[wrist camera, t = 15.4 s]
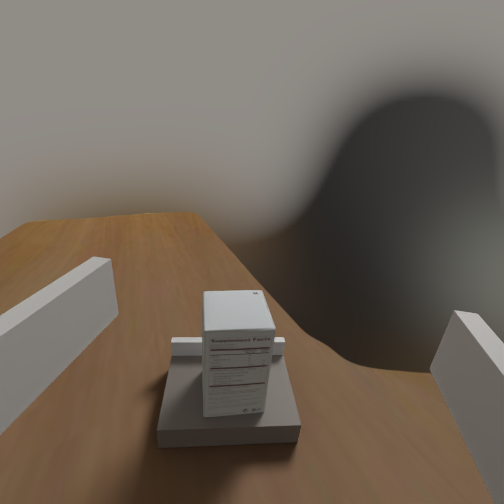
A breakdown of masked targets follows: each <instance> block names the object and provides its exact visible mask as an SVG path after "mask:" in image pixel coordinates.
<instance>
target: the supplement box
mask: <svg viewBox="0 0 504 504" xmlns="http://www.w3.org/2000/svg"><path fill="white" fill-rule="evenodd" d="M275 330H276V328H275V325H274V322H273V320H272V317H271V314H270V311H269V308H268V305H267V303H266V300H265V297H264V294H263V291H260V290H241V291H206V292H203V306H202V383H203V417H218V416H229V415H240V414H251V413H260V412H264V411H265V403H266V395H267V388H268V381H269V374H270V367H271V360H272V353H273V346H274V339H275Z"/></svg>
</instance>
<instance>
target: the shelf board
mask: <svg viewBox="0 0 504 504" xmlns="http://www.w3.org/2000/svg"><path fill="white" fill-rule="evenodd" d="M284 346H285V340H284V337H275V339H274V346H273V353H272V360H271V367H270V374H269V381H268V388H267V395H266V403H265V411H264V412H260V413H251V414H240V415H229V416H218V417H203V383H202V337H199V338H172V341H171V350H172V357H171V362H170V367H169V372H168V377H167V381H166V386H165V391H164V396H163V401H162V406H161V411H160V416H159V421H158V426H157V443H158V448H173V447H196V446H220V445H243V444H266V443H290V442H298V437H299V433H300V428H301V423H300V419H299V415H298V411H297V407H296V403H295V399H294V395H293V391H292V388H291V384H290V380H289V376H288V372H287V368H286V364H285V360H284V356H283V353H284Z"/></svg>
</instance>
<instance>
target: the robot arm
mask: <svg viewBox="0 0 504 504" xmlns="http://www.w3.org/2000/svg"><path fill="white" fill-rule="evenodd" d="M117 316H118V308H117V300H116V293H115V286H114V279H113V271H112V264H111V259H107V258H100V257H92V258H91V259H89V260H87V261H86V262H84V263H83V264H81V265H80V266H78V267H76V268H75V269H73V270H72V271H70V272H68V273H67V274H65V275H64V276H62V277H61V278H59V279H57V280H56V281H54V282H53V283H51V284H50V285H48V286H46V287H45V288H43V289H42V290H40V291H38V292H37V293H35V294H34V295H32V296H31V297H29V298H27V299H26V300H24V301H23V302H21V303H19V304H18V305H16V306H15V307H13V308H12V309H10V310H8V311H7V312H5V313H4V314H2V315H0V435H1V434H2V433H3V432H4V431H5V430H6V429H7V428H8V426H9V425H10V424H11V423H12V422H13V421H14V420H15V419H16V418H17V417H18V416H19V415H20V414H21V413H22V412H23V411H24V410H25V409H26V408H27V407H28V406H29V405H30V404H31V403H32V402H33V401H34V400H35V399H36V398H37V397H38V396H39V395H40V394H41V393H42V392H43V391H44V390H45V389H46V388H47V387H48V386H49V385H50V384H51V383H52V382H53V381H54V380H55V379H56V378H57V377H58V376H59V375H60V374H61V373H62V372H63V371H64V370H65V368H66V367H67V366H68V365H69V364H70V363H71V362H72V361H73V360H74V359H75V358H76V357H77V356H78V355H79V354H80V353H81V352H82V351H83V350H84V349H85V348H86V347H87V346H88V345H89V344H90V343H91V342H92V341H93V340H94V339H95V338H96V337H97V336H98V335H99V334H100V333H101V332H102V331H103V330H104V329H105V328H106V327H107V326H108V325H109V324H110V323H111V322H112V321H113V320H114V319H115V318H116V317H117ZM430 371H431V373H432V375H433V377H434V379H435V381H436V383H437V385H438V387H439V389H440V391H441V393H442V396H443V398H444V400H445V402H446V404H447V406H448V408H449V410H450V412H451V414H452V416H453V418H454V420H455V422H456V425H457V427H458V429H459V431H460V433H461V435H462V437H463V439H464V441H465V443H466V445H467V447H468V449H469V451H470V454H471V456H472V458H473V460H474V462H475V464H476V466H477V468H478V470H479V472H480V474H481V476H482V478H483V480H484V483H485V485H486V487H487V489H488V491H489V493H490V495H491V497H492V499H493V501H494V503H495V504H504V344H503V342H502V341H501V340H500V339H499V338H498V337H497V336H496V334H495V333H494V332H493V331H492V330H491V329H490V328H489V326H488V325H487V324H486V323H485V322H484V321H483V319H482V318H481V317H480V316H479V315H478V314H475V313H468V312H462V311H455V310H454V312H453V314H452V317H451V319H450V322H449V324H448V326H447V329H446V331H445V333H444V336H443V338H442V341H441V343H440V345H439V348H438V350H437V352H436V355H435V357H434V360H433V362H432V365H431V367H430Z"/></svg>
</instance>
